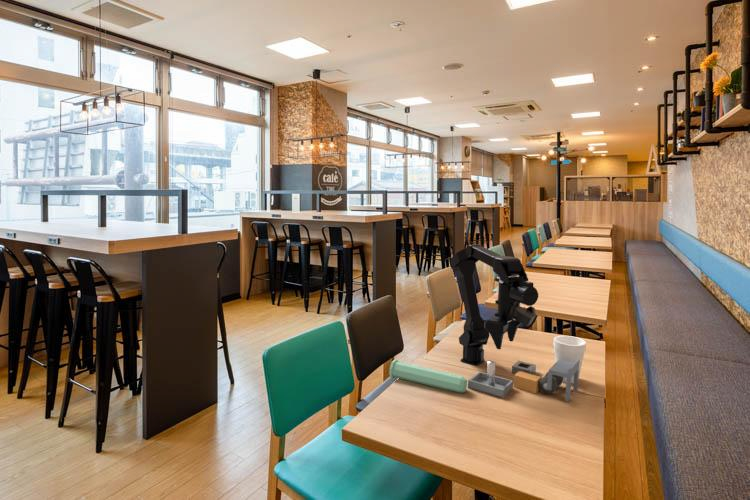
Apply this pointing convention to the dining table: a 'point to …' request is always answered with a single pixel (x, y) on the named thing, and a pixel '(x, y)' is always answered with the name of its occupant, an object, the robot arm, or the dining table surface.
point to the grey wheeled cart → (560, 377)
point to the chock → (526, 381)
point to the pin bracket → (523, 367)
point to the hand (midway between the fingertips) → (505, 345)
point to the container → (428, 376)
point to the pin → (491, 373)
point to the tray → (499, 390)
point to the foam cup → (569, 351)
